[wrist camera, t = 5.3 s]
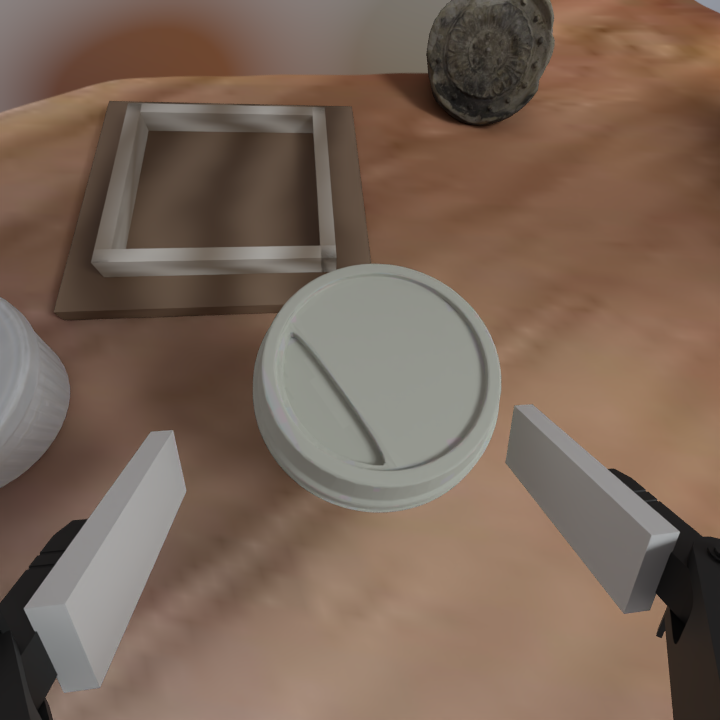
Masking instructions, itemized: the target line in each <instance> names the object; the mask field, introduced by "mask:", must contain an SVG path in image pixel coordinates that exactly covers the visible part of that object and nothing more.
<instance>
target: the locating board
mask: <svg viewBox="0 0 720 720" xmlns="http://www.w3.org/2000/svg"><path fill="white" fill-rule="evenodd" d="M361 264H371V259H370V250H369V242H368V234H367V226H366V218H365V210H364V201H363V193H362V185H361V177H360V169H359V161H358V152H357V144H356V136H355V128H354V120H353V112H352V107H350V106H305V105H260V104H215V103H170V102H125V101H109V104H108V108H107V112H106V115H105V119H104V123H103V127H102V131H101V134H100V138H99V142H98V146H97V150H96V153H95V157H94V161H93V165H92V168H91V172H90V176H89V180H88V184H87V187H86V191H85V195H84V199H83V203H82V206H81V210H80V214H79V218H78V221H77V225H76V229H75V233H74V237H73V240H72V244H71V248H70V252H69V256H68V259H67V263H66V267H65V271H64V274H63V278H62V282H61V286H60V290H59V293H58V297H57V301H56V305H55V309H54V313H55V314H56V315H58V316H59V317H60V318H62V319H63V320H85V319H113V318H141V317H169V316H198V315H226V314H254V313H278V312H279V311H280V310H281V308H282V307H283V306H284V304H285V303H286V302H287V301H288V300H289V299H290V298H291V297H292V296H293V295H294V294H295V293H296V292H297V291H298V290H299V289H301V288H302V287H304V286H305V285H306V284H308V283H309V282H311V281H313V280H314V279H316V278H318V277H320V276H322V275H324V274H327V273H329V272H331V271H334V270H337V269H341V268H344V267H348V266H354V265H361Z"/></svg>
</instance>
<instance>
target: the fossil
mask: <svg viewBox="0 0 720 720" xmlns="http://www.w3.org/2000/svg"><path fill="white" fill-rule="evenodd" d="M553 22H554V14H553V9H552V5H551V2H550V0H451V1H450V2H449V3H447V4H446V6H445V7H444V8H443V9H442V10H441V11H440V13H439V15H438V16H437V18H436V19H435V21H434V23H433V26H432V28H431V31H430V34H429V40H428V48H427V62H428V63H427V64H428V74H429V79H430V83H431V87H432V92H433V95H434V98H435V100H436V102H437V103H438V104H439V105H440V106H441V107H442V108H443V109H444V110H445V111H446V112H447V113H448V114H449V115H451V116H452V117H454V118H455V119H457V120H459V121H461V122H464V123H467V124H471V125H487V124H493V123H496V122H499V121H502V120H504V119H506V118H508V117H510V116H512V115H513V114H515V113H516V112H518V111H519V110H520V109H522V108H523V107H524V106H525V105H526V104H527V103H528V102H529V101H530V100H531V99H532V98H533V96H534V95H535V93H536V92H537V91H538V85H539V79H540V77H541V76H542V74H543V72H544V70H545V68H546V66H547V65H548V63H549V61H550V58H551V56H552V53H553V49H554V41H555V40H554V37H553V35H552V32H553V28H552V27H553Z"/></svg>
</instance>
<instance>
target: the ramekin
mask: <svg viewBox="0 0 720 720" xmlns="http://www.w3.org/2000/svg"><path fill="white" fill-rule="evenodd" d="M69 400H70V384H69V378H68V374H67V373H66V370H65V367H64V365H63V364H62V362H61V360H60V358H59V357H58V356H57V355H56V354H55V353H54V352H53V350H52V349H51V348H50V347H49V346H48V345H47V344H46V343H45V342H44V341H43V340H42V339H41V338H40V337H39V336H38V335H37V334H36V332H35V331H34V330H33V328H32V326H31V325H30V323H29V322H28V320H27V319H26V318H25V316H24V315H23V314H22V313H21V312H20V311H19V310H17V309H16V308H15V307H14V306H13V305H11V304H10V303H9V302H7V301H6V300H5V299H3V298H1V297H0V488H1V487H3V486H5V485H6V484H8V483H9V482H11V481H12V480H14V479H16V478H18V477H19V476H20V475H21V474H23V473H24V472H25V471H27V470H28V469H29V468H30V467H31V466H32V465H33V464H34V463H35V462H37V461H38V460H39V459H40V457H41V456H42V455H43V454H44V453H45V452H46V451H47V449H48V448H49V446H50V445H51V443H52V442H53V441H54V440H55V438H56V436H57V434H58V432H59V431H60V429H61V427H62V424H63V422H64V420H65V418H66V413H67V410H68V407H69Z"/></svg>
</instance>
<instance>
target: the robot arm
mask: <svg viewBox="0 0 720 720" xmlns="http://www.w3.org/2000/svg"><path fill="white" fill-rule="evenodd" d="M505 463H506V464H507V465H508V466H509V468H510V469H511V470H512V472H513V473H514V474H515V475H516V477H517V478H518V479H519V481H520V482H521V483H522V484H523V486H524V487H525V488H526V489H527V491H528V492H529V493H530V495H531V496H532V497H533V498H534V500H535V501H536V502H537V504H538V505H539V506H540V507H541V509H542V510H543V511H544V512H545V514H546V515H547V516H548V518H549V519H550V520H551V521H552V523H553V524H554V525H555V527H556V528H557V529H558V530H559V532H560V533H561V534H562V535H563V537H564V538H565V539H566V541H567V542H568V543H569V544H570V546H571V547H572V548H573V550H574V551H575V552H576V553H577V555H578V556H579V557H580V558H581V560H582V561H583V562H584V564H585V565H586V566H587V567H588V569H589V570H590V571H591V572H592V574H593V575H594V576H595V578H596V579H597V580H598V581H599V583H600V584H601V585H602V587H603V588H604V589H605V590H606V592H607V593H608V594H609V595H610V597H611V598H612V599H613V601H614V602H615V603H616V604H617V606H618V607H619V608H620V610H621V611H622V612H623V613H624V614H626V613H634V612H641V611H648V610H650V608H651V606H652V603H653V601H654V598H655V596H656V594H657V595H658V596H659V597H660V598H661V599H662V600H663V601H664V603H665V604H666V605H667V608H666V611H665V613H664V615H663V618H662V620H661V623H660V625H659V628H658V631H657V635H656V636H658V637H660V638H662V636H663V633H664V632H665V631H666V642H667V653H668V664H669V675H670V686H671V697H672V708H673V719H674V720H720V539H718V538H713V537H702V536H701V535H700V534H699V533H698V532H696V531H695V530H694V529H693V528H691V527H690V526H689V525H688V524H687V523H685V522H684V521H683V520H682V519H681V518H679V517H678V516H677V515H676V514H675V513H673V512H672V511H671V510H670V509H668V508H667V507H666V506H665V505H664V504H662V503H661V502H660V501H659V502H658V501H657V499H656V498H655V497H654V496H653V495H651V494H650V493H649V492H646V491H645V489H644V488H643V487H642V486H641V485H639V484H638V483H637V482H636V481H635V480H633V479H632V478H631V477H629V476H627V475H625V474H623V473H621V472H619V471H617V470H616V469H607V468H605V467H604V466H603V465H602V464H601V463H600V462H598V461H597V460H596V459H595V458H594V457H593V456H592V455H590V454H589V453H588V452H587V451H586V450H585V449H583V448H582V447H581V446H580V445H579V444H578V443H576V442H575V441H574V440H573V439H572V438H571V437H570V436H568V435H567V434H566V433H565V432H564V431H563V430H561V429H560V428H559V427H558V426H557V425H556V424H554V423H553V422H552V421H551V420H550V419H549V418H547V417H546V416H545V415H544V414H543V413H542V412H541V411H539V410H538V409H537V408H536V407H535V406H534V405H532V404H530V405H516V406H514V411H513V417H512V424H511V430H510V437H509V443H508V450H507V456H506V462H505ZM185 493H186V487H185V482H184V477H183V473H182V468H181V464H180V459H179V455H178V450H177V446H176V441H175V436H174V432H173V430H167V431H153V432H150V434H149V435H148V436H147V438H146V439H145V441H144V442H143V443H142V445H141V446H140V448H139V449H138V450H137V452H136V453H135V455H134V456H133V457H132V459H131V460H130V461H129V463H128V464H127V466H126V467H125V468H124V470H123V471H122V473H121V474H120V475H119V477H118V478H117V480H116V481H115V482H114V484H113V485H112V487H111V488H110V489H109V491H108V492H107V493H106V495H105V496H104V498H103V499H102V500H101V502H100V503H99V505H98V506H97V507H96V509H95V510H94V512H93V513H92V514H91V516H90V517H89V518H88V519H84V520H73V521H71V522H70V523H69V524H68V525H66V526H65V527H64V528H62V529H61V530H60V531H59V532H57V533H56V534H55V535H54V536H53V537H52V538H51V539H50V541H49V542H48V543H47V544H46V546H45V547H44V548H43V549H42V551H41V552H40V556H37V557H36V558H35V560H34V561H33V562H32V563H31V565H30V566H29V569H28V570H26V571H25V572H24V573H23V575H22V576H21V577H20V579H19V580H18V581H17V582H16V584H15V585H14V586H13V587H12V589H11V590H10V591H9V592H8V594H7V595H6V596H5V598H4V599H3V600H2V601H1V603H0V720H53V718H52V714H51V711H50V707H49V704H48V702H47V700H46V698H45V697H46V695H47V693H48V691H49V690H50V688H51V686H52V684H53V682H54V680H55V679H56V677H57V679H58V681H59V683H60V686H61V688H62V690H63V692H64V693H66V692H74V691H81V690H88V689H95V688H100V687H101V685H102V682H103V680H104V678H105V675H106V673H107V671H108V669H109V666H110V664H111V662H112V659H113V657H114V655H115V653H116V650H117V648H118V646H119V644H120V641H121V639H122V637H123V634H124V632H125V630H126V628H127V625H128V623H129V621H130V618H131V616H132V614H133V612H134V609H135V607H136V605H137V603H138V600H139V598H140V596H141V593H142V591H143V589H144V587H145V584H146V582H147V580H148V578H149V575H150V573H151V571H152V568H153V566H154V564H155V562H156V559H157V557H158V555H159V552H160V550H161V548H162V546H163V543H164V541H165V539H166V537H167V534H168V532H169V530H170V527H171V525H172V523H173V521H174V518H175V516H176V514H177V511H178V509H179V507H180V505H181V502H182V500H183V498H184V496H185Z"/></svg>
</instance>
